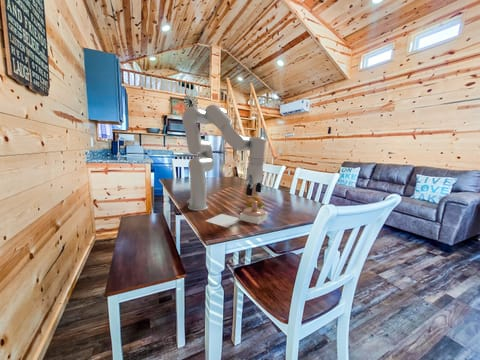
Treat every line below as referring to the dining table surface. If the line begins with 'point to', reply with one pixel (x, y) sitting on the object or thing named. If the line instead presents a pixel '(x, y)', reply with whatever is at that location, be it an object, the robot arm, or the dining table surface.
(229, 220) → the mat
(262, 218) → the dish
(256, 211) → the lid
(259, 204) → the cheeseburger
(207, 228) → the dining table surface
